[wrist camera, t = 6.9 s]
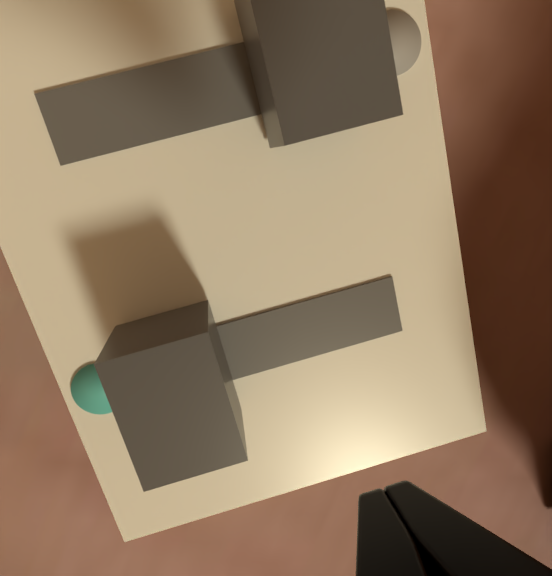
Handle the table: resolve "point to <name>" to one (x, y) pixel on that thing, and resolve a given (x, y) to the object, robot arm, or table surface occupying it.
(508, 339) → the table surface
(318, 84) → the dark grey box
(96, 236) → the switch board
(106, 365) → the grey block
